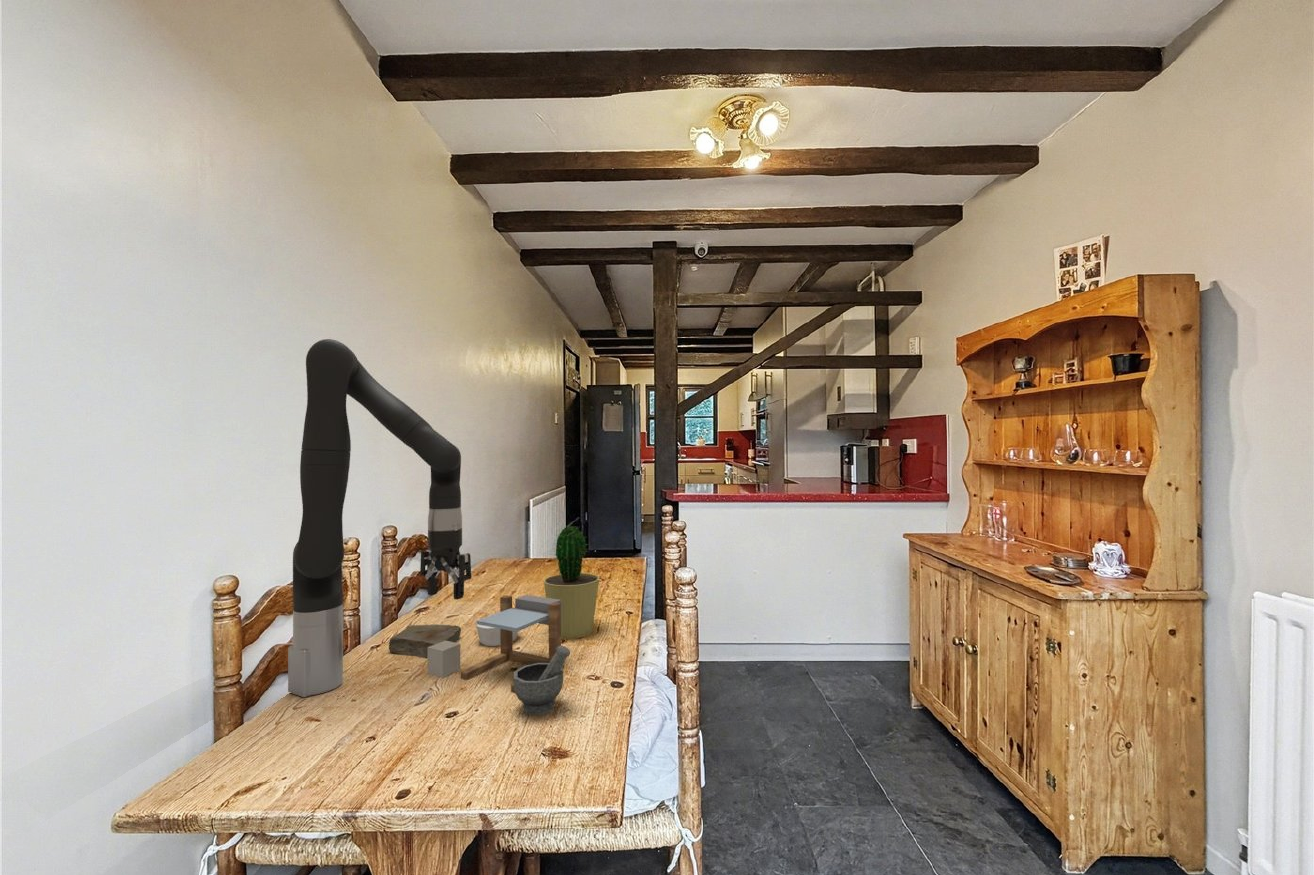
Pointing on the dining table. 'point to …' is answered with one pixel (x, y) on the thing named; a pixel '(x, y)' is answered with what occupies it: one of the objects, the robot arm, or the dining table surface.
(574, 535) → the potted cactus
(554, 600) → the trapdoor
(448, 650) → the grey block
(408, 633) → the dark stone slab
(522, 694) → the mortar and pestle
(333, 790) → the dining table surface
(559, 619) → the frame
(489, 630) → the ramekin
